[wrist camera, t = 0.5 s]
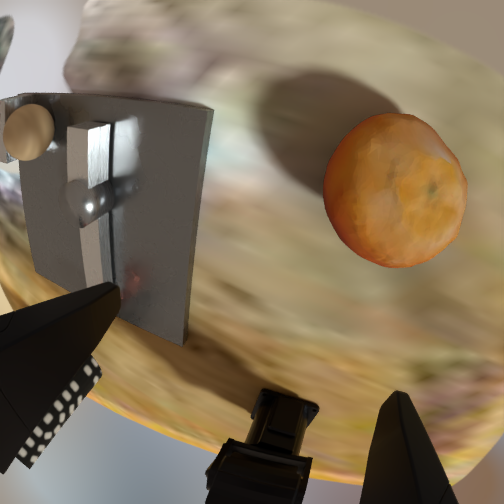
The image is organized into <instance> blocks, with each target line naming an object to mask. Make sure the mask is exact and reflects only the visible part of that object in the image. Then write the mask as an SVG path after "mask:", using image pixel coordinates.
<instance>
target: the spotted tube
mask: <svg viewBox="0 0 504 504" xmlns="http://www.w3.org/2000/svg"><path fill="white" fill-rule="evenodd" d="M101 376H102V372H101V369H100V367H99V365H98V364H97V362H96V361H95V359H94V358H93V357H92V356H91V355H90V356H89V357H88V358H87V360H86V361H85V362H84V363H83V365H82V366H81V367H80V369H79V370H78V371H77V372H76V374H75V375H74V376H73V378H72V379H71V380H70V382H69V383H68V384H67V386H66V387H65V388H64V390H63V391H62V392H61V394H60V395H59V396H58V398H57V399H56V400H55V402H54V403H53V404H52V406H51V407H50V408H49V410H48V411H47V413H46V414H45V415H44V417H43V418H42V419H41V421H40V422H39V424H38V425H37V426H36V428H35V429H34V431H33V432H32V433H31V435H30V437H29V438H28V440H27V441H26V442H25V444H24V445H23V447H22V448H21V450H20V451H19V453H18V454H17V456H16V458H17V459H18V460H20V461H21V462H22V463H23V464H24V465H25V466H26V467H28V468H29V469H30V468H31V467H32V465H33V464H34V463H35V461H36V460H37V459H38V457H39V456H40V455H41V453H42V452H43V451H44V449H45V448H46V447H47V445H48V444H49V443H50V442H51V440H52V439H53V438H54V436H55V435H56V434H57V432H58V431H59V430H60V428H61V427H62V426H63V425H64V423H65V422H66V421H67V419H68V418H69V417H70V416H71V414H72V413H73V412H74V410H75V409H76V408H77V407H78V405H79V404H80V403H81V402H82V400H83V399H84V398H85V397H86V395H87V394H88V393H89V391H90V390H91V389H92V388H93V386H94V385H95V384H96V383H97V381H98V380H99V379H100V378H101Z"/></svg>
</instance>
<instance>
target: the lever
mask: <svg viewBox="0 0 504 504" xmlns="http://www.w3.org/2000/svg"><path fill="white" fill-rule="evenodd" d="M109 137H110V124H106V123H99V122H92V121H87V122H83V123H79V124H76V125H72V126H68V127H67V174H68V182H67V183H65V184H64V185H62V187H61V188H60V190H59V195H58V201H59V207H60V210H61V212H62V214H63V216H64V218H65V219H66V220H67V222H68V223H69V224H71V225H72V226H73V227H75V228H80V238H81V248H82V256H83V264H84V271H85V278H86V284H87V288H88V287H91V286H94V285H98V284H101V283H104V282H108V281H110V282H112V283H113V279H112V267H111V253H110V236H109V211H110V210H111V209H112V208H113V205H114V201H115V195H114V190H113V187H112V185H111V183H110V181H109V180H108V165H109Z"/></svg>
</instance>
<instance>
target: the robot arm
mask: <svg viewBox="0 0 504 504" xmlns="http://www.w3.org/2000/svg"><path fill="white" fill-rule="evenodd" d="M120 308H121V293H120V287H119V286H118V285H116V284H114V283H112V282H110V281H108V282H104V283H101V284H98V285H94V286H91V287H88V288H85V289H82V290H78V291H75V292H72V293H69V294H66V295H63V296H60V297H56V298H53V299H50V300H47V301H44V302H41V303H38V304H35V305H32V306H28V307H25V308H22V309H19V310H16V311H13V312H10V313H7V314H3V315H0V473H2V474H4V473H5V472H6V471H7V469H8V467H9V466H10V464H11V463H12V461H13V460H14V458H15V457H16V456H17V454H18V453H19V451H20V450H21V448H22V447H23V445H24V444H25V442H26V441H27V440H28V438H29V437H30V435H31V433H32V432H33V431H34V429H35V428H36V426H37V425H38V424H39V422H40V421H41V419H42V418H43V417H44V415H45V414H46V413H47V411H48V410H49V408H50V407H51V406H52V404H53V403H54V402H55V400H56V399H57V398H58V396H59V395H60V394H61V392H62V391H63V390H64V388H65V387H66V386H67V384H68V383H69V382H70V380H71V379H72V378H73V376H74V375H75V374H76V372H77V371H78V370H79V369H80V367H81V366H82V365H83V363H84V362H85V361H86V360H87V358H88V357H89V356H90V355H91V353H92V352H93V351H94V349H95V348H96V347H97V345H98V344H99V342H100V341H101V339H102V338H103V336H104V334H105V333H106V331H107V330H108V328H109V327H110V325H111V323H112V322H113V320H114V319H115V317H116V316H117V314H118V313H119V311H120ZM318 412H319V406H317V405H314V404H311V403H307V402H304V401H301V400H298V399H294V398H291V397H288V396H285V395H282V394H279V393H276V392H273V391H270V390H267V389H262V390H261V392H260V395H259V397H258V400H257V402H256V405H255V407H254V409H253V412H252V414H251V419H253V423H252V425H251V428H250V430H249V433H248V435H247V438H246V440H245V443H243V442H239V441H236V440H234V439H232V438H229V439H228V440H227V442H226V443H223V446H222V448H221V450H220V452H219V454H218V455H217V457H216V459H215V460H214V461H213V463H212V464H211V465H210V466H209V467H208V469H207V470H206V472H205V475H206V477H207V487H206V488H207V490H209V493H208V496H207V498H206V501H205V504H302V501H303V498H304V495H305V491H306V487H307V483H308V478H309V474H310V469H311V464H312V459H313V458H312V457H302V456H299V453H300V449H301V445H302V442H303V438H304V434H305V430H306V428H307V427H308V426H309V424H310V423H311V422H312V420H313V419H314V417H315V416H316V415H317V413H318ZM359 504H459V503H458V501H457V499H456V496H455V494H454V492H453V489H452V487H451V485H450V484H449V480H448V478H447V476H446V473H445V471H444V469H443V466H442V464H441V462H440V460H439V457H438V455H437V453H436V451H435V449H434V447H433V444H432V442H431V440H430V438H429V436H428V434H427V432H426V429H425V427H424V425H423V423H422V421H421V419H420V417H419V415H418V413H417V411H416V409H415V407H414V405H413V403H412V401H411V399H410V397H409V395H408V394H407V393H405V392H402V391H398V390H396V391H394V392H393V393H392V394H391V395H390V396H389V398H388V399H387V400H386V401H385V402H384V403H383V404H382V406H381V408H380V410H379V414H378V419H377V423H376V427H375V431H374V435H373V439H372V443H371V446H370V450H369V455H368V461H367V467H366V472H365V478H364V483H363V489H362V494H361V498H360V503H359Z"/></svg>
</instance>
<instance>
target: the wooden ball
mask: <svg viewBox="0 0 504 504" xmlns="http://www.w3.org/2000/svg"><path fill="white" fill-rule="evenodd" d="M54 131H55V126H54V121H53V118H52V116H51V114H50V113H49V111H48V110H47V109H45V108H44V107H42V106H40V105H37V104H28V105H24V106H22V107H20V108H18V109H16V110H15V111H14V112H13V113H12V114H11V115H10V116H9V118H8V120H7V121H6V123H5V126H4V130H3V143H4V146H5V148H6V150H7V152H8V153H9V154H10V155H11V156H12V157H14V158H16V159H18V160H22V161H28V160H33V159H35V158H37V157H39V156H41V155H42V154H43V153H44V152H45V151H46V150H47V149H48V147H49V146H50V144H51V142H52V140H53V137H54Z"/></svg>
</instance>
